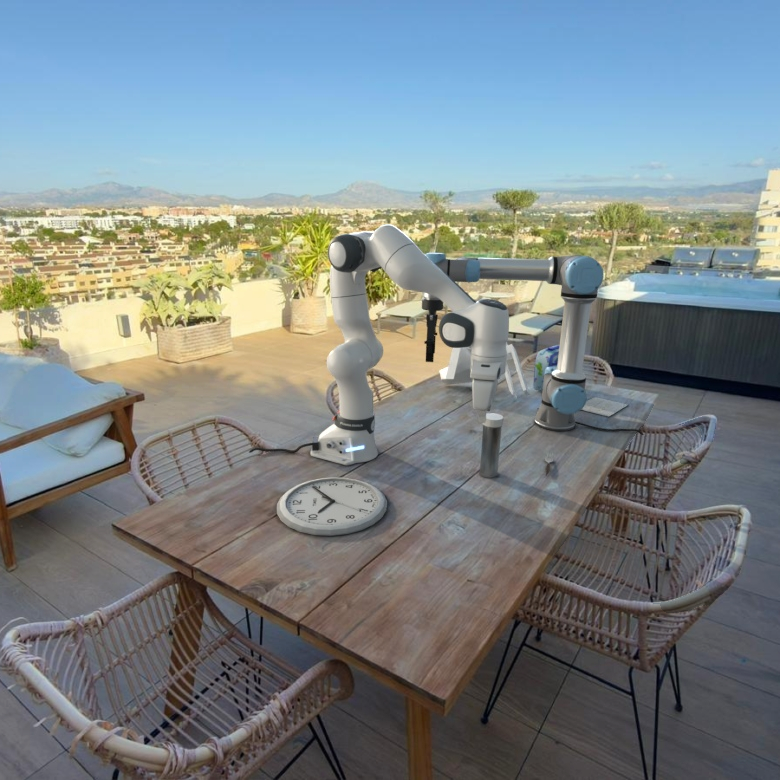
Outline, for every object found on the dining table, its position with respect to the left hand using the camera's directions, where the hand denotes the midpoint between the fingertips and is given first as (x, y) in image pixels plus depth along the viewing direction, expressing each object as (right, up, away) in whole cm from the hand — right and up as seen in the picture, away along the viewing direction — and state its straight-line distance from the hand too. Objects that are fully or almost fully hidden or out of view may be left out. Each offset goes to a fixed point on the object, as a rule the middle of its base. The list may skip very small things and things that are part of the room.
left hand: (484, 416), depth 137 cm
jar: (+6, -19, +26) cm, 33 cm away
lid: (+6, -1, +21) cm, 22 cm away
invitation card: (+67, -1, +90) cm, 112 cm away
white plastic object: (+17, +6, +107) cm, 108 cm away
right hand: (-10, +19, +53) cm, 57 cm away
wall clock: (-40, -25, +6) cm, 48 cm away
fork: (+26, -18, +32) cm, 45 cm away
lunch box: (+54, +7, +113) cm, 125 cm away
